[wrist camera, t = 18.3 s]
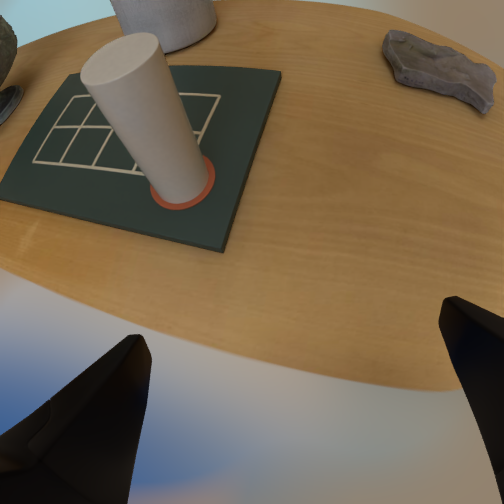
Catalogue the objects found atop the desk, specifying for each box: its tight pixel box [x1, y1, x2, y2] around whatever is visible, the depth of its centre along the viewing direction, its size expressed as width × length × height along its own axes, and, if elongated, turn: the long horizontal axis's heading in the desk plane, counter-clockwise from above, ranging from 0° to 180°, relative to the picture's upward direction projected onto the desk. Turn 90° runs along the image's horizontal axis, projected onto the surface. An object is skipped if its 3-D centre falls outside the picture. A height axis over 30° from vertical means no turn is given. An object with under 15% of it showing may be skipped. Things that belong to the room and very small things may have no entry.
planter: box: [110, 0, 216, 54], centre depth 30 cm, size 13×13×11 cm
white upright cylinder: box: [80, 32, 209, 204], centre depth 19 cm, size 5×5×13 cm
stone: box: [382, 30, 496, 114], centre depth 27 cm, size 15×10×4 cm, turn 71°
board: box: [0, 65, 281, 253], centre depth 29 cm, size 20×30×1 cm, turn 75°
